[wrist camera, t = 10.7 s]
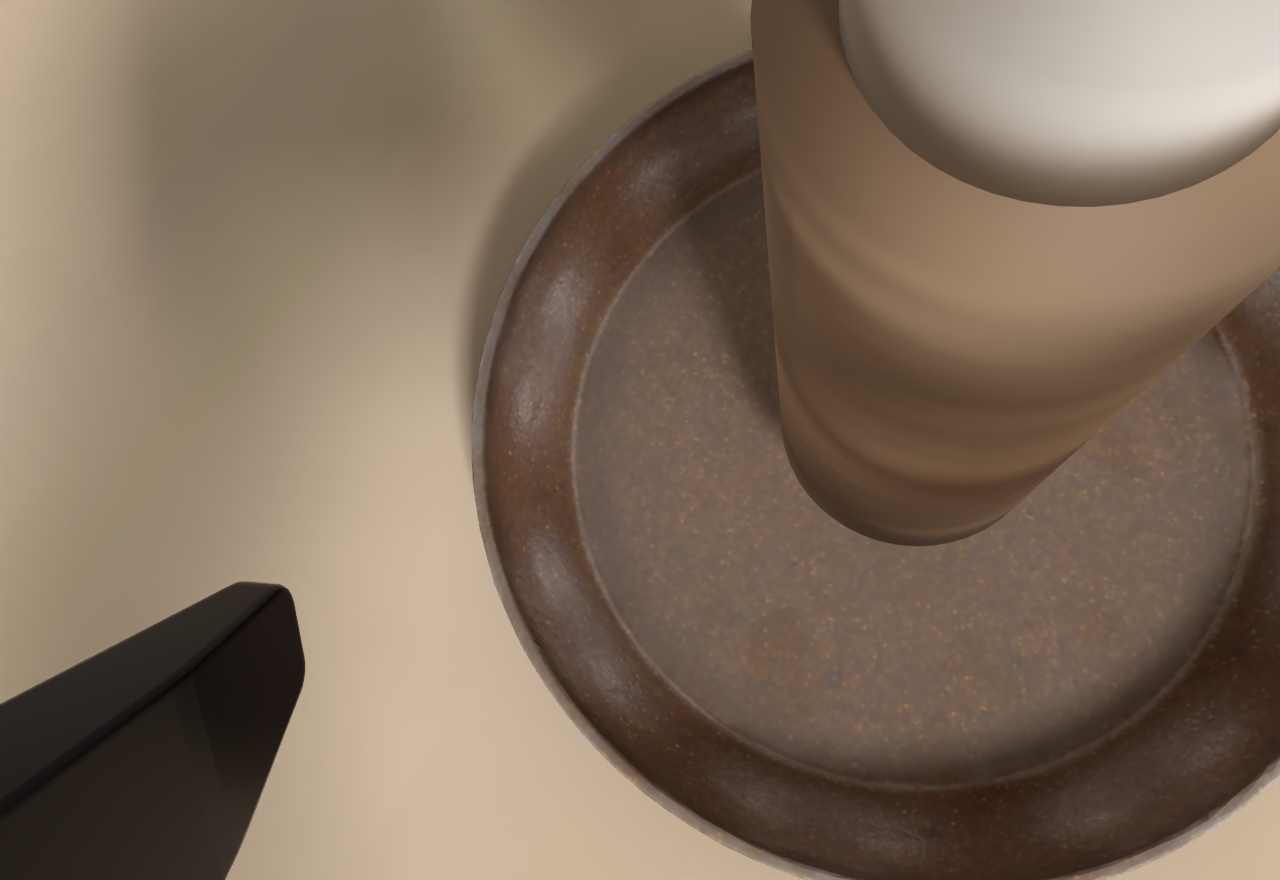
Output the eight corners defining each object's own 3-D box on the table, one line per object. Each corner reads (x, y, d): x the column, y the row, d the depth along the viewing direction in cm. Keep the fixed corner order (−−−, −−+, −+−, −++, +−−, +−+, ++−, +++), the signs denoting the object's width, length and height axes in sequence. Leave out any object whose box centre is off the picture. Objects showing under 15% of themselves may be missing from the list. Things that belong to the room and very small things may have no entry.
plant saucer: (1375, 141, 22) (1462, 58, 19) (1285, 987, 19) (1373, 1046, 16) (612, 52, 26) (587, -28, 23) (426, 745, 22) (367, 755, 19)
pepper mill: (1107, 417, 19) (1801, -229, 6) (916, 602, 18) (1192, 367, 5) (907, 248, 20) (1098, -573, 7) (728, 417, 20) (587, -118, 7)
